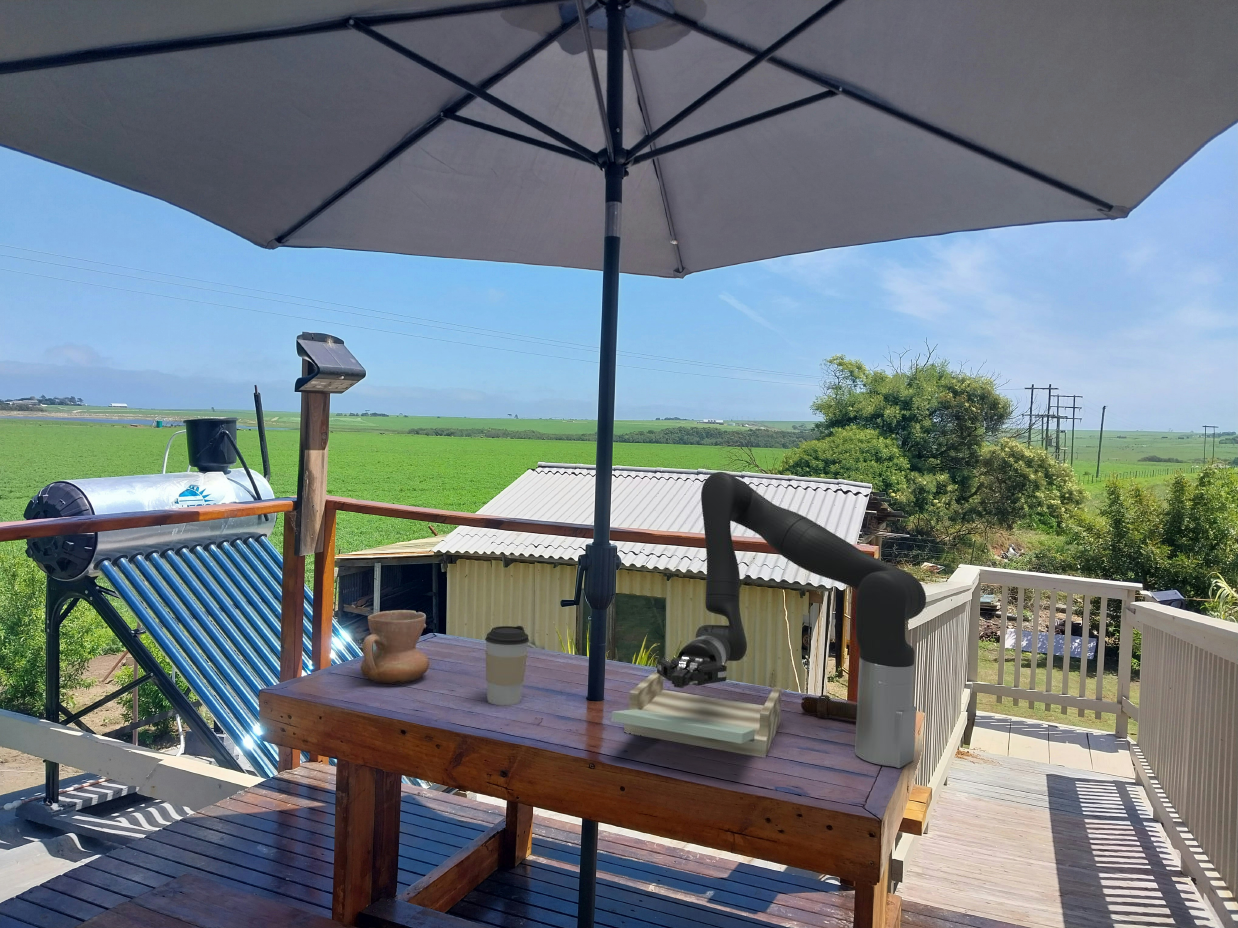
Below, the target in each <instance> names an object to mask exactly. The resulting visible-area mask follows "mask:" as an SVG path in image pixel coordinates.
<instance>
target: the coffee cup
mask: <svg viewBox="0 0 1238 928" xmlns="http://www.w3.org/2000/svg"><path fill="white" fill-rule="evenodd" d="M484 640H485V644H486V645H485V646H486V650H485V674H486V675H485V676H486V679H485V681H486V692H487V693H486V694H487V695H486V698H487V703H489V704H492V705H494V706H495V705H496V706H515V705H517V704H519V703H520V702H521V700H522V699H521V698H522V691H523V683H524V680H525V673H526V666H527V658H528V645H529V642H530V639H529V635H528V634H527V633H526V631H525V628H524V627H523V626H522V625H516V626H512V625H511V626H510V625H502V626H501V625H500V626H494V627H492V628H491V630H490V631H489V632H487V634H486V637H485V638H484Z"/></svg>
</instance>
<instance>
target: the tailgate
mask: <svg viewBox="0 0 1238 928" xmlns="http://www.w3.org/2000/svg"><path fill="white" fill-rule="evenodd" d="M610 720H611V722H616V723H621V724H625V723H626V724H632V725H638V726H644V727H649V728H655V729H661V730H667V731H672V732H678V733H684V734H690V735H695V736H701V737H707V738H713V739H718V740H724V741H730V742H736V743H741V744H742V743H744V742H746V741H751V742H754V736H755V729H752V728H746V727H740V726H734V725H728V724H722V723H716V722H710V721H704V720H698V719H692V718H686V717H680V716H674V715H668V714H662V713H656V712H650V711H644V710H638V709H634V710H629V709H625V710H615V711H612V712H611V719H610Z"/></svg>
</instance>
